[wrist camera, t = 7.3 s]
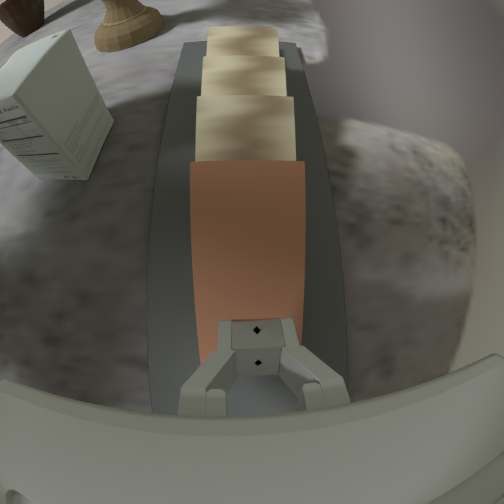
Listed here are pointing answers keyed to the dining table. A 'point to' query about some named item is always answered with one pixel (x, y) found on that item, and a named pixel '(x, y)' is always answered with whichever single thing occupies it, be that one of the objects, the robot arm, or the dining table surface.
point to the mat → (180, 252)
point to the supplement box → (52, 109)
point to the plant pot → (22, 15)
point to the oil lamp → (126, 25)
